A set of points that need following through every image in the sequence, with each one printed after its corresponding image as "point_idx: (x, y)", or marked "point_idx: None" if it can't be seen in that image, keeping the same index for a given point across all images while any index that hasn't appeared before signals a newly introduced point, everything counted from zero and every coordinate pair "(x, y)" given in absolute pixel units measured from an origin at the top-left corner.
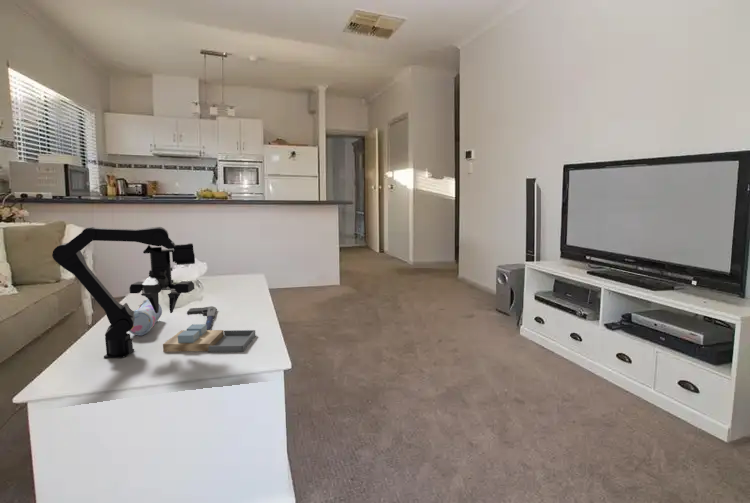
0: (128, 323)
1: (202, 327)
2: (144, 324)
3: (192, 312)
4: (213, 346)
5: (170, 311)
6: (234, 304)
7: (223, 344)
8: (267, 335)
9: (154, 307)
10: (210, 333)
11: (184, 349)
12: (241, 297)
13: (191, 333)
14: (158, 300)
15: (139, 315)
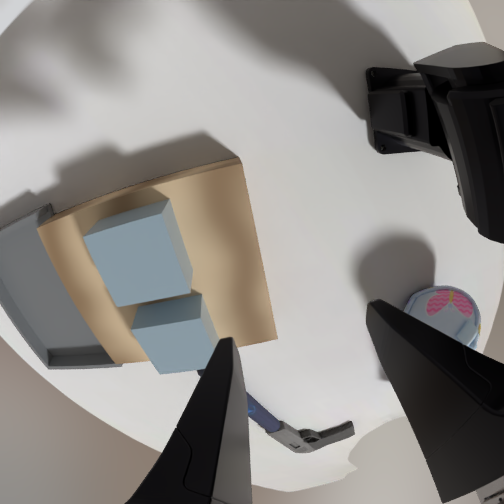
0: (463, 66)
1: (139, 343)
2: (425, 322)
3: (341, 428)
4: (23, 219)
5: (225, 347)
6: (275, 464)
7: (52, 277)
8: (34, 357)
9: (414, 330)
10: (127, 332)
11: (137, 185)
12: (284, 475)
13: (115, 263)
14: (411, 424)
15: (455, 339)
